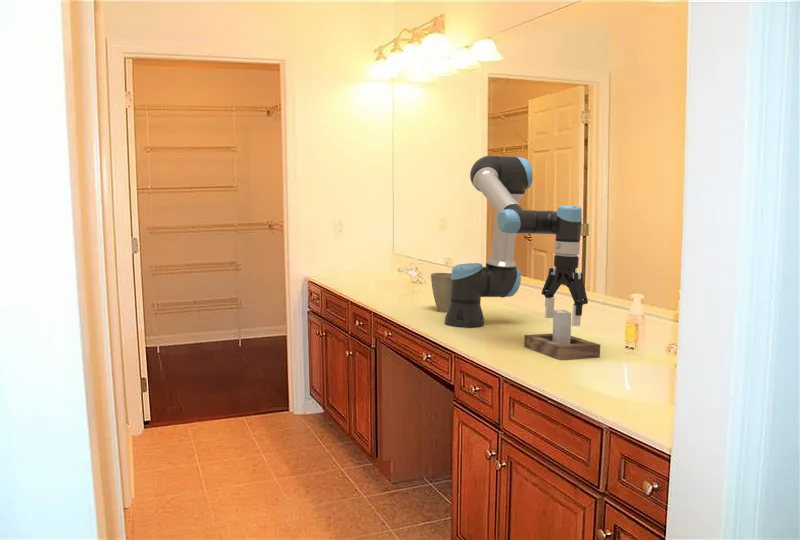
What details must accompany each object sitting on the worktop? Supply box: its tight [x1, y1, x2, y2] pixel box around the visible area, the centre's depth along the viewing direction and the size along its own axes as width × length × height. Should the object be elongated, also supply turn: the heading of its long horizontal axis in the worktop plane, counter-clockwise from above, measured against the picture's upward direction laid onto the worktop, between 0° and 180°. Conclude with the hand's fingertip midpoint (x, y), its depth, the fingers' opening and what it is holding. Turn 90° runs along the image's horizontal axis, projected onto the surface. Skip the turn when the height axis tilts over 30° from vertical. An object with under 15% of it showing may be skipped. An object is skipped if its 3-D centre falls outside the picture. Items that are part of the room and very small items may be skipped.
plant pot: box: [430, 272, 452, 313], centre depth 285 cm, size 15×15×16 cm
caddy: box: [523, 333, 601, 361], centre depth 210 cm, size 19×15×4 cm
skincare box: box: [552, 309, 572, 345], centre depth 210 cm, size 6×4×12 cm
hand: (562, 321), depth 210 cm, fingers open, 13 cm apart
